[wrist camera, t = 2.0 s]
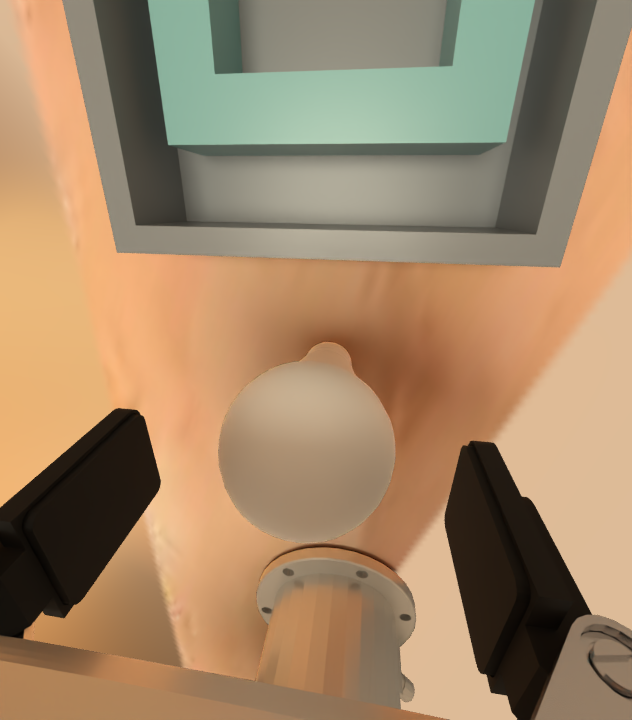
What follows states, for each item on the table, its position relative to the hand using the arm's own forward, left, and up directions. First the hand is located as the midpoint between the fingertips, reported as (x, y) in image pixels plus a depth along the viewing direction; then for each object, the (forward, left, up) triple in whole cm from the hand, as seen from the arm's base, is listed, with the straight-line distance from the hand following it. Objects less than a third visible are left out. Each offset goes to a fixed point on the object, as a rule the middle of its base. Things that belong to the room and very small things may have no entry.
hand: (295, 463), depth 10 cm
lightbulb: (-1, +1, -10) cm, 10 cm away
